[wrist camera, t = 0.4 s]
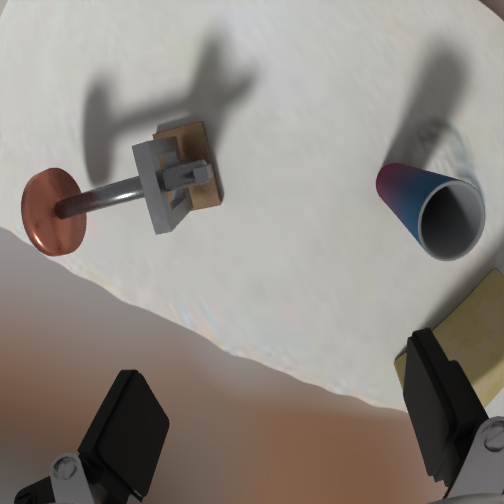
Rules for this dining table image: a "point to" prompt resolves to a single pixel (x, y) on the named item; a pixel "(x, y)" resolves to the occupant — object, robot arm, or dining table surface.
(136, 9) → the dining table surface
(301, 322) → the dining table surface
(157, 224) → the eye post
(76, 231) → the copper disc on rod
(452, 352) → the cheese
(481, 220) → the cup
